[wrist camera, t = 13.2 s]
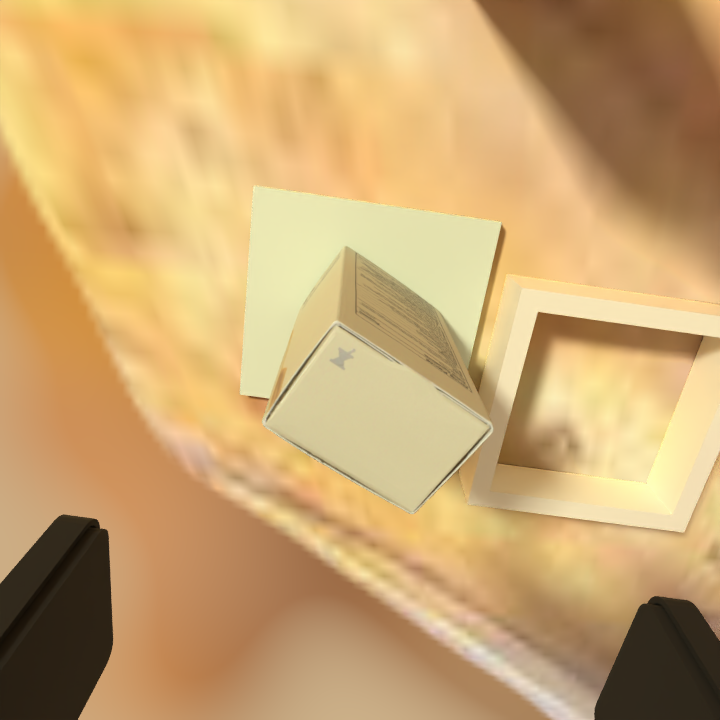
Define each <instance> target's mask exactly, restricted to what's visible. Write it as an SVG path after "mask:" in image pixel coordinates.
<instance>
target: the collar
mask: <svg viewBox="0 0 720 720" xmlns="http://www.w3.org/2000/svg"><path fill="white" fill-rule="evenodd" d="M538 312H543V313H550V314H557V315H564V316H571V317H578V318H585V319H592V320H599V321H606V322H614V323H621V324H628V325H635V326H642V327H649V328H656V329H663V330H670V331H677V332H684V333H691V334H698V335H704V337H703V340H702V342H701V345H700V347H699V350H698V352H697V355H696V357H695V360H694V363H693V365H692V368H691V370H690V373H689V375H688V378H687V380H686V383H685V386H684V388H683V391H682V393H681V396H680V398H679V401H678V403H677V406H676V409H675V411H674V414H673V416H672V419H671V421H670V424H669V426H668V429H667V432H666V434H665V437H664V439H663V442H662V444H661V447H660V449H659V452H658V455H657V457H656V460H655V462H654V465H653V467H652V470H651V472H650V475H649V478H648V480H647V483H641V482H633V481H626V480H618V479H611V478H603V477H596V476H588V475H581V474H573V473H566V472H558V471H551V470H543V469H535V468H528V467H520V466H513V465H505V464H498V463H497V462H498V458H499V454H500V451H501V447H502V443H503V440H504V436H505V432H506V428H507V425H508V421H509V417H510V414H511V410H512V406H513V402H514V399H515V395H516V391H517V388H518V384H519V380H520V376H521V373H522V369H523V365H524V362H525V358H526V354H527V350H528V347H529V343H530V339H531V336H532V332H533V328H534V324H535V321H536V317H537V313H538ZM478 394H479V396H480V398H481V400H482V402H483V404H484V406H485V408H486V410H487V412H488V414H489V416H490V418H491V421H492V423H493V426H494V431H493V433H492V434H491V435H490V436H489V437H488V439H487V440H486V441H485V442H484V443H483V444H482V445H481V446H480V447H479V448H478V449H477V450H476V451H475V452H474V453H473V455H472V456H471V457H470V458H469V459H468V460H467V461H466V462H465V463H464V464H463V465H462V466H461V467H460V470H459V476H460V480H461V483H462V487H463V491H464V495H465V498H466V502H467V504H468V505H476V506H483V507H491V508H499V509H506V510H514V511H522V512H529V513H537V514H545V515H553V516H560V517H568V518H576V519H583V520H591V521H599V522H606V523H614V524H622V525H629V526H637V527H645V528H653V529H660V530H668V531H676V532H683V533H684V531H685V529H686V527H687V524H688V522H689V520H690V518H691V515H692V513H693V511H694V508H695V506H696V504H697V502H698V499H699V497H700V495H701V492H702V490H703V488H704V486H705V483H706V481H707V479H708V476H709V474H710V472H711V470H712V467H713V465H714V463H715V460H716V458H717V456H718V454H719V451H720V304H713V303H706V302H700V301H693V300H686V299H679V298H672V297H665V296H658V295H651V294H644V293H637V292H630V291H623V290H616V289H609V288H603V287H596V286H589V285H582V284H575V283H568V282H561V281H554V280H547V279H540V278H533V277H526V276H519V275H512V274H507V276H506V280H505V284H504V288H503V292H502V296H501V301H500V305H499V309H498V313H497V317H496V321H495V325H494V330H493V334H492V338H491V342H490V346H489V350H488V354H487V359H486V363H485V367H484V371H483V375H482V379H481V383H480V388H479V392H478Z"/></svg>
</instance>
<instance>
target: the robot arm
mask: <svg viewBox="0 0 720 720" xmlns="http://www.w3.org/2000/svg"><path fill="white" fill-rule="evenodd" d="M112 645H113V627H112V604H111V582H110V560H109V536H108V531H107V530H105V529H100V525H99V522H98V520H97V519H92V518H85V517H78V516H70V515H61V516H59V517H58V518H57V519H56V520H55V521H54V522H53V523H52V524H51V525H50V526H49V528H48V529H47V530H46V531H45V532H44V533H43V535H42V536H41V537H40V538H39V539H38V541H37V542H36V543H35V544H34V545H33V546H32V547H31V549H30V550H29V551H28V552H27V553H26V554H25V556H24V557H23V558H22V559H21V560H20V561H19V563H18V564H17V565H16V566H15V567H14V569H13V570H12V571H11V572H10V573H9V574H8V575H7V577H6V578H5V579H4V580H3V581H2V582H1V584H0V720H78V718H79V716H80V714H81V712H82V710H83V708H84V707H85V705H86V703H87V701H88V699H89V697H90V695H91V693H92V691H93V689H94V688H95V686H96V684H97V681H98V680H99V678H100V676H101V674H102V672H103V670H104V668H105V667H106V664H107V662H108V660H109V657H110V654H111V650H112ZM594 715H595V720H720V641H719V640H718V638H717V637H716V635H715V634H714V632H713V631H712V629H711V628H710V626H709V625H708V623H707V622H706V620H705V619H704V617H703V616H702V614H701V613H700V611H699V610H698V608H697V607H696V606H695V605H694V604H693V603H692V602H690V601H688V600H680V599H673V598H666V597H659V596H654V597H652V598H651V599H650V600H649V602H648V603H647V604H642V605H641V606H640V607H639V609H638V611H637V613H636V615H635V618H634V620H633V622H632V624H631V627H630V629H629V631H628V634H627V636H626V638H625V640H624V643H623V645H622V647H621V649H620V652H619V654H618V656H617V658H616V661H615V663H614V665H613V667H612V670H611V672H610V674H609V676H608V679H607V681H606V683H605V685H604V688H603V690H602V692H601V694H600V697H599V699H598V701H597V703H596V706H595V713H594Z"/></svg>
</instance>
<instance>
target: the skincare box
mask: <svg viewBox="0 0 720 720" xmlns="http://www.w3.org/2000/svg"><path fill="white" fill-rule="evenodd" d="M262 424H263V426H264V427H266V428H267V429H269V430H270V431H272V432H273V433H275V434H276V435H277V436H278V437H280V438H282V439H283V440H285V441H286V442H288V443H289V444H291V445H292V446H294V447H296V448H297V449H299V450H300V451H302V452H304V453H305V454H307V455H308V456H310V457H312V458H313V459H315V460H317V461H318V462H320V463H322V464H323V465H325V466H327V467H329V468H330V469H332V470H333V471H335V472H337V473H339V474H340V475H342V476H344V477H345V478H347V479H349V480H351V481H352V482H354V483H356V484H357V485H359V486H361V487H363V488H365V489H366V490H368V491H370V492H371V493H373V494H375V495H377V496H379V497H381V498H382V499H384V500H386V501H387V502H389V503H391V504H393V505H395V506H397V507H399V508H401V509H402V510H404V511H406V512H408V513H409V514H414V513H416V512H417V511H418V510H419V509H420V508H421V507H422V506H423V504H424V503H425V502H426V501H427V500H428V499H429V498H431V497H432V496H433V495H434V494H435V493H436V492H437V490H438V489H439V488H440V487H441V486H442V485H443V484H444V483H445V482H446V481H448V480H449V479H450V477H451V476H452V475H453V474H454V473H455V472H456V471H457V470H458V469H459V468H460V467H461V466H462V465H463V464H464V463H465V462H466V461H467V460H468V459H469V458H470V457H471V456H472V455H473V453H474V452H475V451H476V450H477V449H478V448H479V447H480V446H481V445H482V444H483V443H484V442H485V441H486V440H487V439H488V437H489V436H490V435H491V434H492V433H493V431H494V426H493V423H492V421H491V418H490V416H489V414H488V412H487V410H486V408H485V406H484V404H483V402H482V400H481V398H480V396H479V394H478V391H477V389H476V387H475V385H474V383H473V381H472V379H471V377H470V375H469V372H468V370H467V368H466V366H465V364H464V362H463V360H462V358H461V356H460V354H459V352H458V350H457V347H456V345H455V343H454V341H453V339H452V337H451V335H450V333H449V330H448V328H447V326H446V324H445V322H444V320H443V318H442V316H441V313H440V312H439V310H437V309H436V308H435V307H434V306H432V305H431V304H430V303H428V302H427V301H426V300H424V299H423V298H422V297H420V296H419V295H418V294H416V293H415V292H414V291H412V290H411V289H410V288H408V287H407V286H405V285H404V284H403V283H401V282H400V281H398V280H397V279H395V278H394V277H393V276H391V275H390V274H388V273H387V272H385V271H384V270H383V269H381V268H380V267H378V266H377V265H375V264H374V263H372V262H371V261H369V260H368V259H366V258H365V257H363V256H362V255H360V254H359V253H357V252H356V251H354V250H353V249H351V248H350V247H348V246H344V247H343V248H342V249H341V251H340V252H339V253H338V255H337V256H336V257H335V259H334V260H333V261H332V263H331V264H330V265H329V267H328V268H327V269H326V271H325V272H324V273H323V275H322V276H321V278H320V279H319V280H318V282H317V283H316V285H315V286H314V288H313V289H312V291H311V292H310V294H309V295H308V297H307V298H306V300H305V301H304V303H303V305H302V306H301V308H300V310H299V313H298V316H297V318H296V321H295V324H294V327H293V330H292V333H291V336H290V339H289V342H288V345H287V348H286V351H285V353H284V356H283V359H282V362H281V365H280V368H279V371H278V374H277V377H276V380H275V383H274V386H273V389H272V392H271V395H270V398H269V401H268V404H267V407H266V410H265V414H264V416H263V419H262Z"/></svg>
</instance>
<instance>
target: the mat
mask: <svg viewBox="0 0 720 720" xmlns="http://www.w3.org/2000/svg"><path fill="white" fill-rule="evenodd" d="M501 224H502V222H500V221H495V220H488V219H482V218H475V217H468V216H461V215H455V214H448V213H441V212H434V211H427V210H421V209H414V208H407V207H400V206H393V205H387V204H380V203H373V202H366V201H360V200H353V199H346V198H339V197H332V196H326V195H319V194H312V193H305V192H299V191H292V190H285V189H278V188H271V187H265V186H258V185H255V186H253V201H252V216H251V231H250V246H249V261H248V276H247V291H246V307H245V322H244V337H243V352H242V367H241V382H240V395H247V396H255V397H262V398H270V395H271V392H272V389H273V386H274V383H275V380H276V377H277V374H278V371H279V368H280V365H281V362H282V359H283V356H284V353H285V351H286V348H287V345H288V342H289V339H290V336H291V333H292V330H293V327H294V324H295V321H296V318H297V316H298V313H299V310H300V308H301V306H302V305H303V303H304V301H305V300H306V298H307V297H308V295H309V294H310V292H311V291H312V289H313V288H314V286H315V285H316V283H317V282H318V280H319V279H320V278H321V276H322V275H323V273H324V272H325V271H326V269H327V268H328V267H329V265H330V264H331V263H332V261H333V260H334V259H335V257H336V256H337V255H338V253H339V252H340V251H341V249H342V248H343V247H344V246H348V247H350V248H351V249H353V250H354V251H356V252H357V253H359V254H360V255H362V256H363V257H365V258H366V259H368V260H369V261H371V262H372V263H374V264H375V265H377V266H378V267H380V268H381V269H383V270H384V271H385V272H387V273H388V274H390V275H391V276H393V277H394V278H395V279H397V280H398V281H400V282H401V283H403V284H404V285H405V286H407V287H408V288H410V289H411V290H412V291H414V292H415V293H416V294H418V295H419V296H420V297H422V298H423V299H424V300H426V301H427V302H428V303H430V304H431V305H432V306H434V307H435V308H436V309H437V310H439V312H440V313H441V316H442V318H443V320H444V322H445V324H446V326H447V328H448V330H449V333H450V335H451V337H452V339H453V341H454V343H455V345H456V347H457V350H458V352H459V354H460V356H461V358H462V360H463V362H464V364H465V366H466V368H467V370H468V367H469V363H470V359H471V354H472V350H473V346H474V341H475V337H476V333H477V328H478V324H479V319H480V315H481V311H482V306H483V302H484V298H485V293H486V289H487V285H488V280H489V276H490V272H491V267H492V263H493V259H494V254H495V250H496V246H497V241H498V237H499V233H500V228H501Z"/></svg>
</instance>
